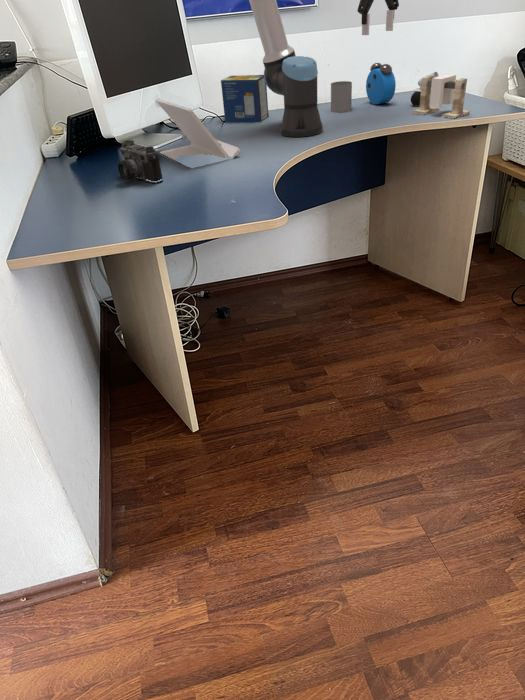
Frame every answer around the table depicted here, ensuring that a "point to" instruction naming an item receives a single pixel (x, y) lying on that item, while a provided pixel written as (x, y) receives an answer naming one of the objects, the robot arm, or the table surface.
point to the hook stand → (457, 100)
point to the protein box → (244, 98)
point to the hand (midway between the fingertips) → (377, 33)
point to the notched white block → (441, 91)
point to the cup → (341, 96)
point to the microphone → (416, 98)
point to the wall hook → (421, 81)
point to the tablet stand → (194, 134)
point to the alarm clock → (380, 84)
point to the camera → (139, 162)
